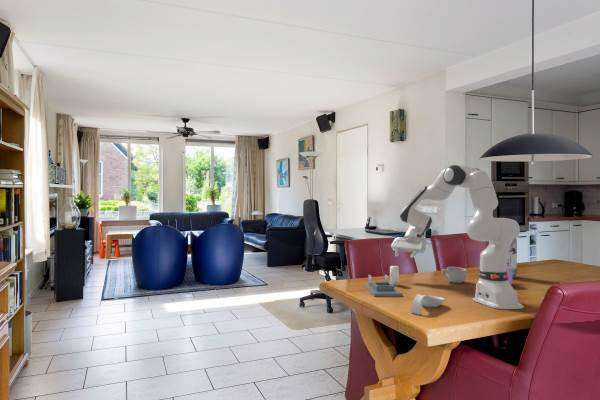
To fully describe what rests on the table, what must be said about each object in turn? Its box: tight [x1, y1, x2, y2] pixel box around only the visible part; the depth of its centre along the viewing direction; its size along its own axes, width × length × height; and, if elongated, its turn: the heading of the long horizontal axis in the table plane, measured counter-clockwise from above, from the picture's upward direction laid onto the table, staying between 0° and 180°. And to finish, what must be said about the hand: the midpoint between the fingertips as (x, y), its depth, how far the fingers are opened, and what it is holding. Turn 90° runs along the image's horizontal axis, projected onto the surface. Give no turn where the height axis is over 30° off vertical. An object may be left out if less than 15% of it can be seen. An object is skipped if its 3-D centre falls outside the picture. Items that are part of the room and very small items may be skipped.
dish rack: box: [363, 274, 404, 298], centre depth 211 cm, size 24×14×6 cm, turn 4°
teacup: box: [441, 266, 467, 284], centre depth 234 cm, size 14×11×8 cm
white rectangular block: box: [389, 265, 400, 286], centre depth 227 cm, size 5×5×10 cm
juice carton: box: [506, 238, 518, 280], centre depth 250 cm, size 9×10×27 cm
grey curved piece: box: [410, 293, 445, 316], centre depth 178 cm, size 24×12×7 cm, turn 144°
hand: (403, 256), depth 235 cm, fingers open, 8 cm apart
